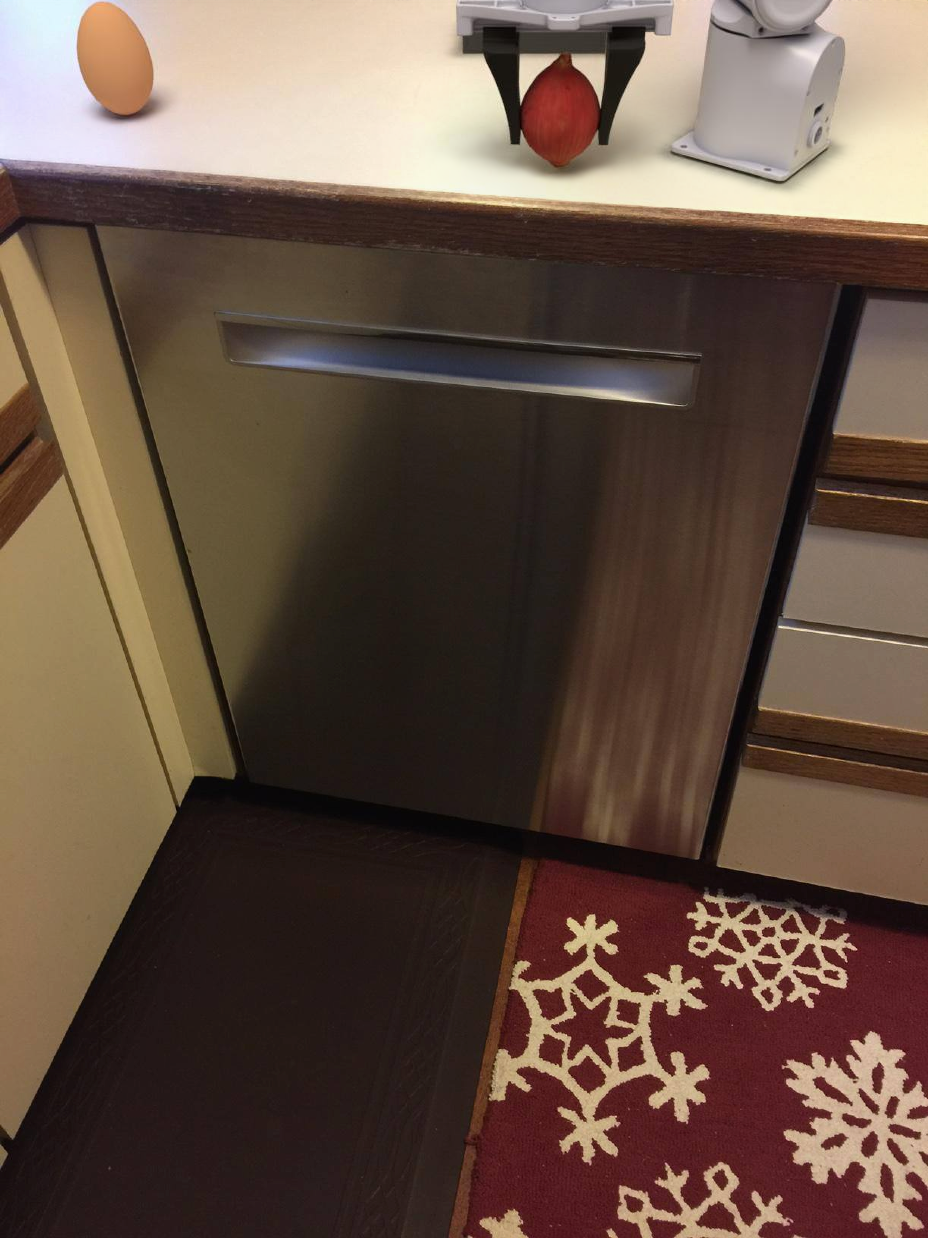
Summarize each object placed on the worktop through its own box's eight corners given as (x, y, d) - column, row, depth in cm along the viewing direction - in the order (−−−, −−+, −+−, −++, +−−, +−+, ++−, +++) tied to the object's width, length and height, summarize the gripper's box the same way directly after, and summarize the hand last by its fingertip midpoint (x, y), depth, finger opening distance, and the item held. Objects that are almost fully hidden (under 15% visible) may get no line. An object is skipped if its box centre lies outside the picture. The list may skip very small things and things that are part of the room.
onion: (510, 178, 76) (511, 62, 70) (530, 147, 80) (532, 34, 74) (587, 187, 75) (594, 69, 69) (603, 154, 79) (612, 40, 73)
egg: (83, 110, 87) (52, 0, 81) (147, 94, 89) (122, -15, 83) (107, 132, 84) (76, 19, 78) (173, 115, 86) (148, 3, 80)
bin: (603, 21, 99) (606, -20, 97) (605, 52, 93) (608, 10, 91) (469, 22, 100) (468, -19, 98) (462, 53, 94) (461, 10, 92)
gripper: (449, -60, 64) (456, 161, 74) (686, -61, 63) (660, 163, 73) (458, -89, 69) (463, 122, 78) (678, -92, 68) (655, 122, 77)
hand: (558, 139), depth 76 cm, fingers closed on onion, 6 cm apart
